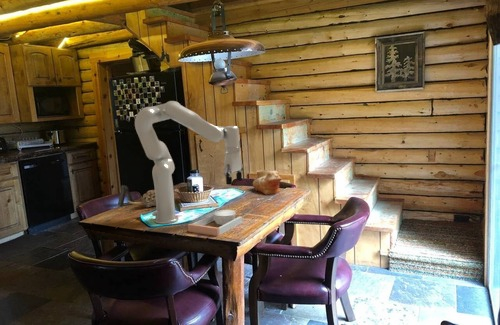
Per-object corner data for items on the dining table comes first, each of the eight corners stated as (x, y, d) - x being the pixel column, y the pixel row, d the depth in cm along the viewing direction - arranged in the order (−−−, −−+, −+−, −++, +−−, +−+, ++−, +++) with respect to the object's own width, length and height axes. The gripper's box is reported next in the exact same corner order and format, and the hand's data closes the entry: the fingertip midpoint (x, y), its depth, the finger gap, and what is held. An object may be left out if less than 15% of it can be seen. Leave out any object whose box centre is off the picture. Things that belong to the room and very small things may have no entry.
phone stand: (120, 206, 244) (118, 187, 242) (117, 204, 249) (115, 186, 247) (134, 204, 249) (133, 185, 247) (132, 202, 254) (130, 183, 252)
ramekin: (230, 226, 196) (229, 216, 195) (210, 225, 200) (209, 214, 199) (239, 220, 206) (238, 210, 206) (219, 218, 210) (219, 208, 210)
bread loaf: (269, 196, 253) (268, 173, 251) (249, 189, 276) (248, 168, 274) (287, 193, 260) (286, 170, 258) (266, 186, 283) (265, 165, 280)
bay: (188, 231, 191) (187, 224, 191) (214, 218, 210) (214, 212, 209) (217, 236, 183) (217, 228, 182) (242, 222, 202) (241, 215, 201)
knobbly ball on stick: (159, 202, 250) (157, 187, 248) (166, 205, 242) (165, 189, 241) (125, 209, 236) (123, 193, 235) (131, 212, 229) (130, 196, 227)
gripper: (235, 147, 215) (237, 178, 218) (216, 152, 200) (219, 185, 203) (247, 148, 211) (249, 179, 214) (229, 152, 196) (231, 186, 199)
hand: (234, 182), depth 208 cm, fingers open, 9 cm apart
